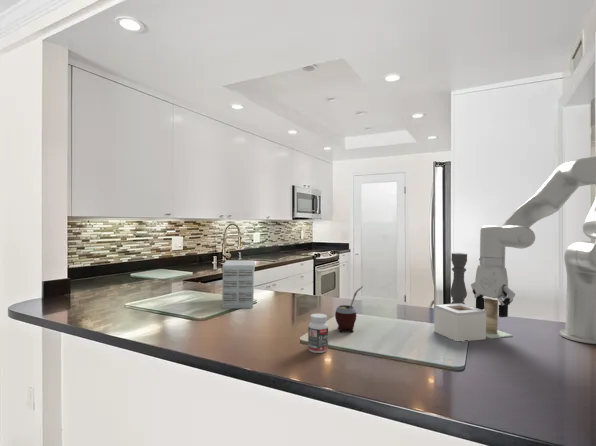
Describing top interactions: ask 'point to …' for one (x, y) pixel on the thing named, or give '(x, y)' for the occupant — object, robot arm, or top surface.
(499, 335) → the pad
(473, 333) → the box
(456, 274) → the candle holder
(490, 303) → the wooden cylinder
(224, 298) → the supplement box
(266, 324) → the top surface
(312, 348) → the pill bottle
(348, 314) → the mate gourd
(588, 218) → the robot arm
